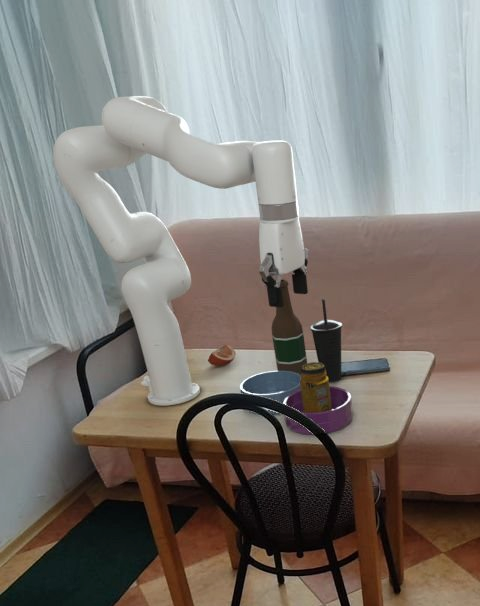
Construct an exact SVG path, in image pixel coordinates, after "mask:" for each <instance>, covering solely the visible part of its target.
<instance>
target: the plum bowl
mask: <svg viewBox="0 0 480 606" xmlns="http://www.w3.org/2000/svg"><path fill="white" fill-rule="evenodd" d="M329 387H330V396H331V405H332V410H329V411H325V412H318V413H304V409H303V401H302V393H301V390H298V391H296V392H294V393H292V394H290V395H289V396H287V397H286V398H285V400H284V402H283V404H285V405H288V406H290V407H293V408H295V409H297V410H299V411H300V412H301V413H302V414H304V415H306V416H307V417H308V418H310V419H312V420H313V421H314V422H315V423H316V424H318V425H319V426H320V427H321V428H323V429H324V430H325V432H326V433H327V434H330V433H335V432H337V431H340V430H341V429H344V428H346V427H347V426H348V425H349V424H350V423H351V422H352V421H353V417H354V411H353V401H352V400H353V399H352V395H351V393H350V392H349V390H346V388H342V387H338V386H332V385H329ZM284 418H285V424H286V427H287V428H288V429H289V430H291V431H293V432H294V433H297V434H300V435H307V436H315V435H314V434H312V433H311V432H309V431H308V430H307V429H306V428H305V427H303V426H302V425H300V424H299V423H297V422H295V421H294V420H292V419H290V418H288V417H286V416H285V415H284Z"/></svg>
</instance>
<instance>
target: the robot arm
mask: <svg viewBox="0 0 480 606" xmlns="http://www.w3.org/2000/svg"><path fill="white" fill-rule="evenodd" d="M101 111H102V112H101V115H100V116H101V117H100V118H101V125H87V126H86V125H85V126H78V127H73V128H70V129H67V130H65V131H63V132H61V134H59V135H58V136H57V138H56V139H55V142H54V144H53V151H52V159H53V164H54V168H55V171H56V175H57V176H58V178H59V180H60V182H61V183H62V185H63V186H64V188H65V189H66V191H67V192H68V193H69V195H70V196H71V198H72V199H73V200H74V201H75V203H76V204H77V205H78V207H79V209H80V210H81V212H82V213H83V216H84V217H85V219H86V222H88V224H89V226H90V228H91V230H92V231H93V233H94V235H95V237H96V238H97V240H98V241H99V243H100V245H101V246H102V248H103V250H104V252H105V253H106V255H107V256H108V257H109V258H110V260H112V261H113V262H115V263H117V264H128V263H131V262H134V261H135V262H136V261H138V260H140V259H145V261H146V262H145V263H142V264H139V265H137V266H134V267H132V268H131V269H129V270H128V271H127V272H126V273H125V274H124V275H123V277H122V280H121V284H120V290H121V293H122V295H123V296H122V297H123V299H124V301H125V303H126V305H127V307H128V309H129V311H130V314H131V316H132V319H133V323H134V327H135V329H136V332H137V337H138V340H139V343H140V347H141V351H142V355H143V359H144V364H145V366H146V367H145V368H146V370H147V374H148V375H145V376H144V377H143V380H142V381H141V382H140V386H141V387H142V388H148V390H149V392H148V393H147V395H146V398H147V401H148V402H149V403H150V404H151V405H154V406H158V407H159V406H160V407H163V406H164V407H165V406H166V407H167V406H175V405H180V404H183V403H187V402H189V401H192V400H193V399H195V398H197V397H198V396H199V394H200V393H201V388H200V385H199V384H198V383H196V382H194V381H193V382H192V377H191V373H190V368H189V363H188V359H187V355H186V350H185V345H184V341H183V337H182V333H181V328H180V325H179V321H178V319H177V317H176V315H175V313H174V311H172V309H171V308H170V306H169V305H168V303H170V302H171V301H174V300H176V299H177V298H180V297H182V296H183V295H185V294H186V293H187V292H188V291H189V290H190V288H191V286H192V275H191V271H190V269H189V266H188V264H187V262H186V260H185V258H184V256H183V255H182V253H181V252H180V250H179V247H178V246H177V244H176V242H175V240H174V239H173V236H172V235H171V233H170V231H169V230H168V228H167V226H166V225H165V223H164V222H163V221H162V220H161V219H160V218H159V217H158V216H157V215H156V214H153V213H151V212H148V211H137V212H131V213H130V211H129V210H128V209H127V207H126V206H125V205H124V203H123V200H122V199H121V197H120V195H119V194H118V192H117V191H116V190H115V189H114V187H112V185H111V184H110V183H109V182H107V181H106V180H105V179H103V178H102V177H101V176H100V175H99V172H103V171H110V170H116V169H121V168H126V167H128V166H130V165H132V164H134V163H135V162H136V161H138V160H139V159H141V158H142V157H143V156H145V155H146V154H148V155H151V156H153V157H155V158H158V159H161V160H163V161H165V162H167V163H169V165H170V166H171V167H172V168H173V169H174V170H175V171H176V172H177V173H179V174H180V175H181V176H183V177H185V178H187V179H189V180H192V181H194V182H196V183H199V184H203V185H205V186H208V187H211V188H214V189H221V190H223V189H226V190H227V189H230V188H235V187H238V186H243V185H247V184H251V183H255V188H256V196H257V203H258V210H259V211H258V212H259V220H260V223H259V225H258V226H259V227H258V231H259V233H258V242H259V243H258V245H259V246H258V247H259V258H260V265H259V267H258V274H259V275H260V277H261V281H262V283H263V284H264V287H265V288H266V291H267V292H266V293H267V297H268V298H267V300H268V306H269V307H272V308H276V307H283V306H284V301H283V293H282V287H279V286H280V282H281V280H282V279H283V276H286V275H288V274H290V273H292V274H291V280H292V289H293V290H292V291H293V293H294V294H295V295H296V294H297V295H307V294H308V293H309V290H308V289H309V288H308V280H307V274H308V269H307V267H308V264H309V263H308V262H309V261H308V257H309V249H307V248H306V247H305V245H304V238H303V233H302V228H301V222H300V213H299V211H300V210H299V203H298V194H297V192H298V191H297V181H296V173H295V162H294V152H293V148H292V147H293V146H292V145H291V143H289V142H288V141H286V140H267V141H252V140H237V141H228V142H222V143H214V142H210V141H207V140H206V139H202V138H200V137H197V136H194V135H192V134H190V128H189V125H188V123H187V121H186V120H185V119H184V118H183V117H181V116H179V115H178V114H175V113H171V112H170V111H168V109H167V108H166V107H165V105H164V104H163V103H162V102H161V101H160V100H158V99H156V98H155V97H153V96H149V95H148V96H147V95H132V96H131V95H130V96H116V97H114V98H111V99H110V100H108V101H107V102H106V104H105V105H104V106H103V108H102V110H101ZM274 277H275V278H274Z"/></svg>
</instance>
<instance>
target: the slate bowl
mask: <svg viewBox="0 0 480 606" xmlns="http://www.w3.org/2000/svg"><path fill="white" fill-rule="evenodd" d="M301 378H302V377H301V375H300V374H298V373H295V372H292V371H278V370H270V371H263V372H260V373H256V374H254V375H251V376H248V377H247V378H245V379H244V380H242V382H241V383H240V384H239V389H240V394H241V393H243V394H253V395H258V396H263V397H267V398H271V399H273V400H277V401H279V402H281V403H283V402H284V400H285V398H286V397H287V396H289V395H290V394H292V393H294V392H296V391H298V390H301V386H300V380H301ZM246 411H248V410H246ZM248 412H249V413H252V414H255V415H257V414H256V413H254V412H251V411H248ZM268 412H270V413H271V414H272V415H279V414H280V413H276V412H273V411H270V410H268Z"/></svg>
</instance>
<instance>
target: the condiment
mask: <svg viewBox="0 0 480 606" xmlns="http://www.w3.org/2000/svg"><path fill="white" fill-rule="evenodd" d="M300 371H301V377H302V378H301V380H300V386H301V393H302V401H303V409H304V413H318V412H325V411H329V410H332V405H331V396H330V387H329V386H330V383H329V379H328V377H327V376H326V367H325V365H324V364H322V363H318V361H317V362H315V361H313V362H307V364H304V365H303V366H302V367H301V369H300Z"/></svg>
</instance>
